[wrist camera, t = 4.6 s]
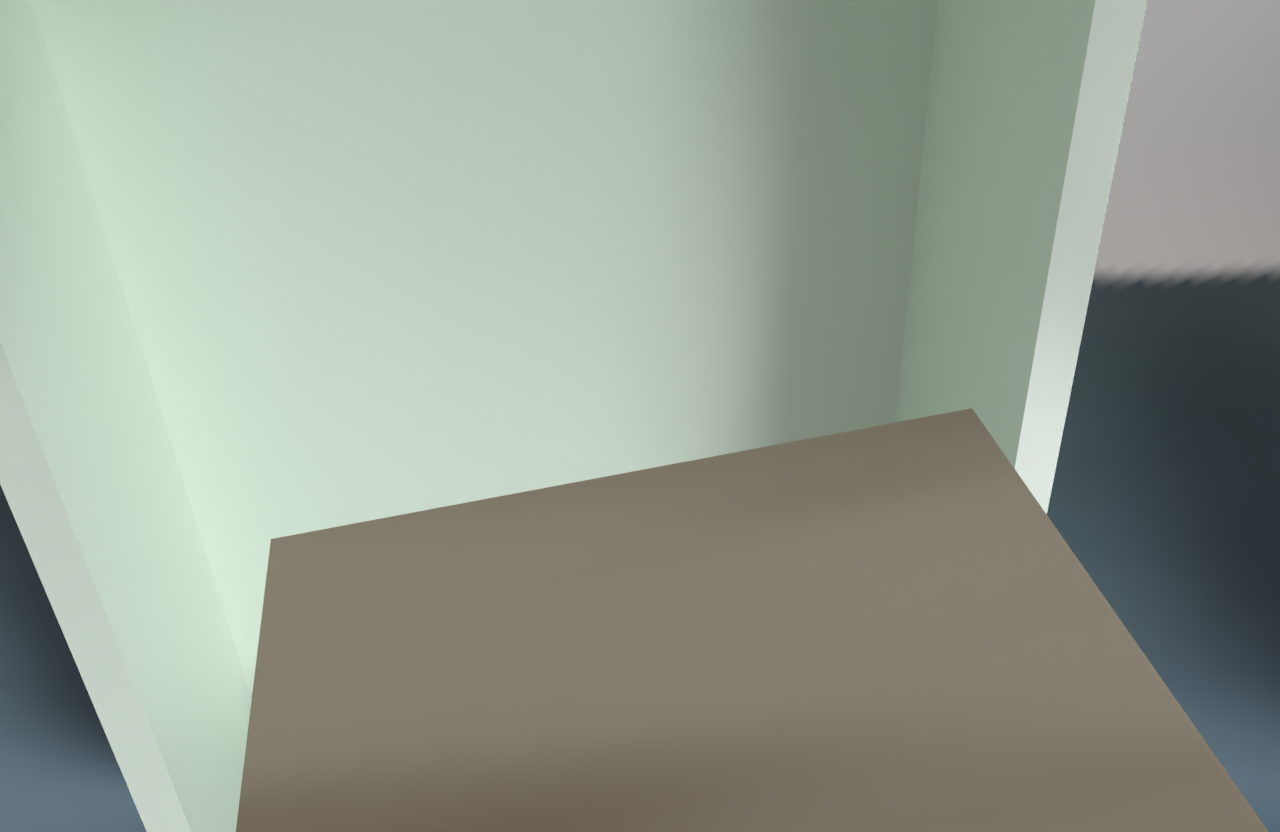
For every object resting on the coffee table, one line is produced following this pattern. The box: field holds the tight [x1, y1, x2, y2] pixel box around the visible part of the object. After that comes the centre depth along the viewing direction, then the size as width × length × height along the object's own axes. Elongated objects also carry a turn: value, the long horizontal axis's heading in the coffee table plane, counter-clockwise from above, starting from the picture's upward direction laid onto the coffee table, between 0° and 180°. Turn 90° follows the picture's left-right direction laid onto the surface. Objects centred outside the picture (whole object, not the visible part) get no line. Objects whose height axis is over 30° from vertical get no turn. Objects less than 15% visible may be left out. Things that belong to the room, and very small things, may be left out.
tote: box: [0, 0, 1148, 832], centre depth 19 cm, size 13×19×5 cm
